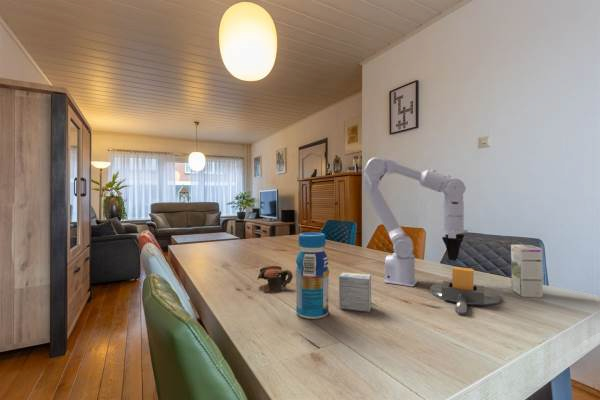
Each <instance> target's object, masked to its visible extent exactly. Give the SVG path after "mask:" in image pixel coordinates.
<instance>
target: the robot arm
mask: <svg viewBox="0 0 600 400" xmlns="http://www.w3.org/2000/svg"><path fill="white" fill-rule="evenodd" d="M363 171H364V172H363V190H364V193H365V194H366V196H367V198H368V199H369V201H370V203H371V205H372V207H373V209H374V211H375V212H376V214H377V215H378V217H379V219H380V221H381V223H382V225H383V226H384V228H385V230H386V232H387V233H388V235H389V239H390V241H391V242H392V247H393V251H394V252H392V254H391V255H390V254H389V255H386V257H385V261H384V283H386V284H394V285H400V286H406V287H415V285H416V284H417V283H418V281H419V280H418V279H417V278H415V277H416V257H415V256H416V255H414V253H413V252H414V249H415V248H414V243H413V240H412V238H411V237H410V236H408V235H407V233H405V232H404V230H403V228H402V227H401V225H400V223H399V222H398V220H397V218H396V216H395V215H394V213H393V211H392V209H391V208H390V206H389V204H388V202H387V200H386V199H385V197H384V196H383V194H382V192H381V189H380V188H379V186H380V183H381V180H382V178H384V176H385V174H387V175H393V174H398V175H400V176H403V177H406V178H410V179H413V180H416V181H419V184H420V186H421V187H423V188H427V189H429V190H431V191H434V192H438V193H443V195H444V200H443V230H442V232H443V233H446V234H445V235H444V236H442V237H441V239H442V241H443V243H444V246H445V248H446V253H447V258H448V260H449V261H454V262H457V260H458V256H459V253H460V248H461V244H462V243H463V241H464V237H465V235H464V233H465V234H466V233H469V230H468V229H465V228H464V225H465V223H464V221H465V220H464V219H465V218H464V215H465V213H464V207H465V206H464V193H465V192H466V189H467V188H466V184H464V182H463V181H462V180H461V179H459V178H452V176H451V175H449V174H448V175H446V174H445V175H444V174H442V173H439V172H437V170H436V169H433V168H432V169H426V170H424V171H421V170H419V169H415V168H413V167H410V166H407V165H406V164H402V163H400V162H398V161H394V160H391V159H387V158H381V157H378V156H374V157H371V158H369V159H368V161H367V162H366V163H365V167H364V169H363Z"/></svg>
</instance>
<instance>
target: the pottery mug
mask: <svg viewBox="0 0 600 400" xmlns="http://www.w3.org/2000/svg"><path fill="white" fill-rule="evenodd" d="M293 277H294V275H293V272H292V271H290V270H289V269H286V270H283V269H282V267H281V266H278V265H269V266H264V267H261V268H260V269H259V274H258V277H257V280H261V279H262V280H266V281H267V283H266V284H263V285H262V290H263V293H269V292H282V289H283V288H286V286H287V285H290V283H291V282H292V280H293Z"/></svg>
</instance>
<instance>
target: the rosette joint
mask: <svg viewBox="0 0 600 400" xmlns="http://www.w3.org/2000/svg"><path fill="white" fill-rule="evenodd" d="M429 288H430V289H429V290H430V293H431V294H432V295H433V296H434V297H436V298H438V299H439V300H440V299H441V300H443V301H445V302H450V303H453V304H455V308H454V310H455V311H454V312H456V314H457V315H459V316H465V315H466V314H467V310H468V309H467V308H468V306H471V307H490V306H496V305H499V304H500V303H501V296H500V294H499V293H497V291H494V290H492V289H489V288H487V287H485V286H484V285H479V284H478V285H477V284H473V290H466V289H459V288H452V281H446V280H443V282H438V283H434V284H431V286H430V287H429Z"/></svg>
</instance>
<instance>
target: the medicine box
mask: <svg viewBox="0 0 600 400" xmlns="http://www.w3.org/2000/svg"><path fill="white" fill-rule="evenodd" d="M338 280H339V281H338V283H339V284H338V286H339V287H338V289H339V290H338V297H339V298H338V300H339V301H338V303H339V305H338V307H339V310H350V311H360V312H365V313H369V312H371V309H372V276H371V274H369V273H367V274H366V273H356V272H342V273H341V274H340V275H339V277H338Z"/></svg>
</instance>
